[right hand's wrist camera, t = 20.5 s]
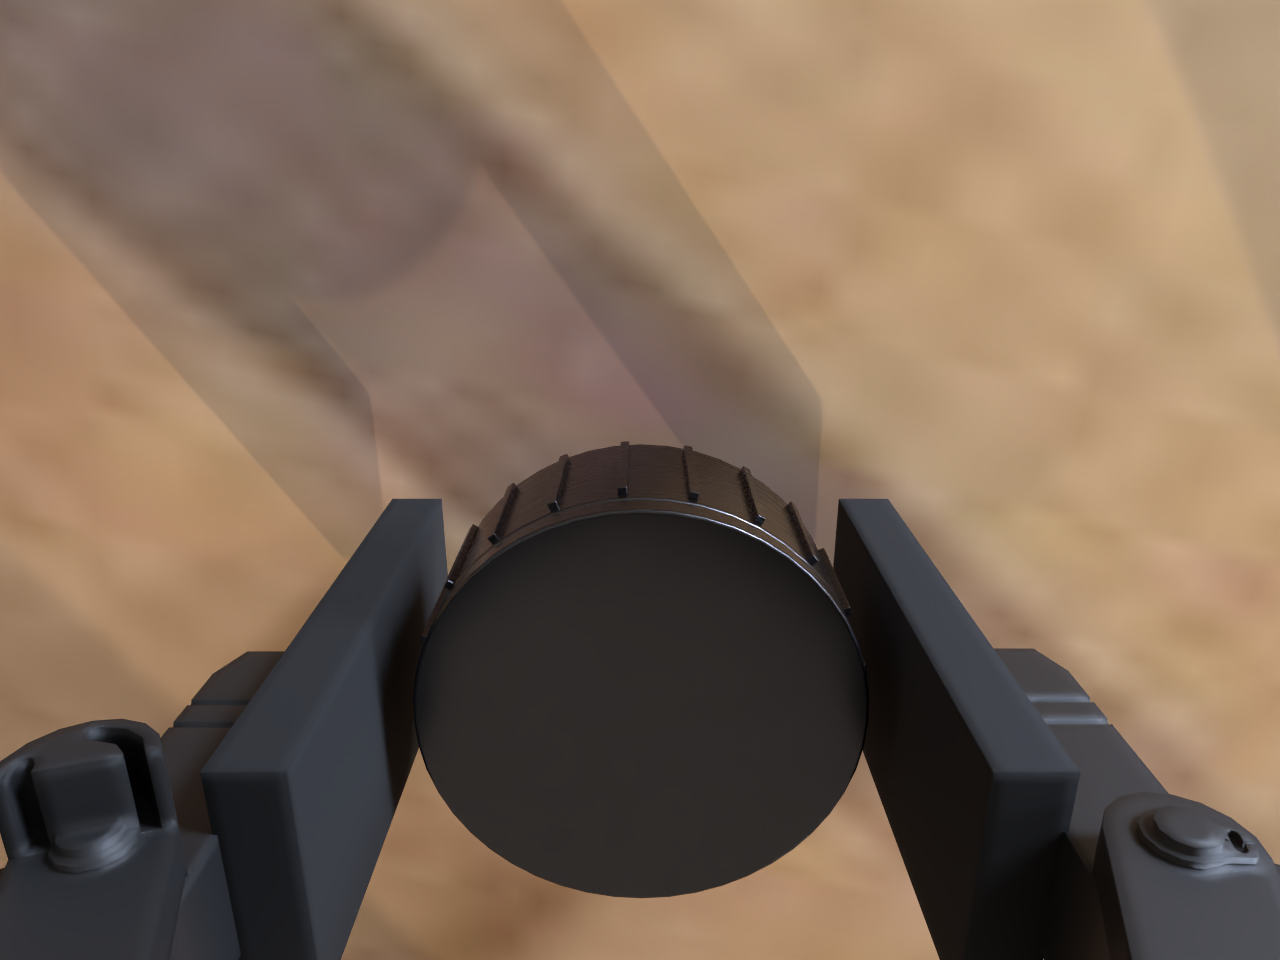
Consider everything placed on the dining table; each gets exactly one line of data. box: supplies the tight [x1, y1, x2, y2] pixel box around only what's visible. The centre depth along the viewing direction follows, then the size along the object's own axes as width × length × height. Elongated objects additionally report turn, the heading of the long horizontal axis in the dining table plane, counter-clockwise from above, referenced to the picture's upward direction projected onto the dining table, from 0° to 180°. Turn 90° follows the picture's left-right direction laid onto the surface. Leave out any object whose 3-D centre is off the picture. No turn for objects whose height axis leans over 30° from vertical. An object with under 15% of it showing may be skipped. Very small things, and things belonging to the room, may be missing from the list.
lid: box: [413, 442, 869, 898], centre depth 12 cm, size 6×6×2 cm
